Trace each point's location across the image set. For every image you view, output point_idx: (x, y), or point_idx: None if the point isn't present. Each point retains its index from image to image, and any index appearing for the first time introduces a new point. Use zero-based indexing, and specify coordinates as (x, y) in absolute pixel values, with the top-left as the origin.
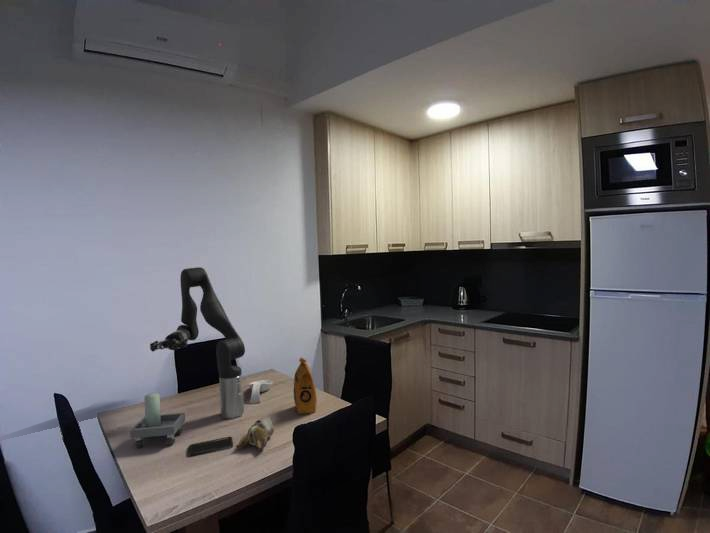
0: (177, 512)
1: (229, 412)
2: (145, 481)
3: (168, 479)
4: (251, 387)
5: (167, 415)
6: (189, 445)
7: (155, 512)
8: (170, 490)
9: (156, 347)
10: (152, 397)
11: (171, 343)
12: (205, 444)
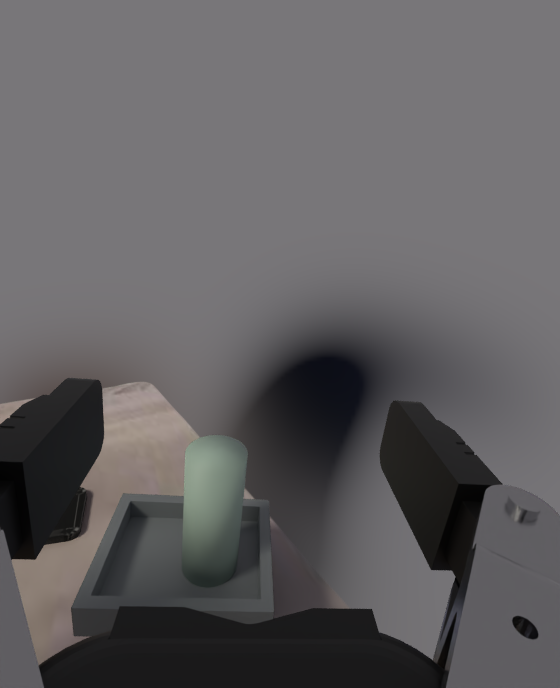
0: (115, 386)
1: None
2: (176, 439)
3: (132, 436)
4: None
5: (159, 598)
6: (76, 529)
7: (145, 391)
8: (127, 415)
9: (433, 518)
10: (207, 436)
11: (143, 625)
12: None
